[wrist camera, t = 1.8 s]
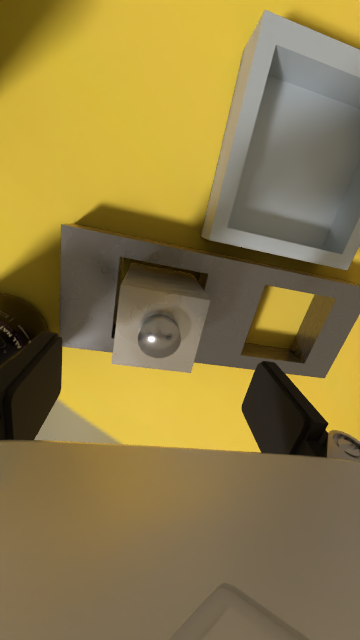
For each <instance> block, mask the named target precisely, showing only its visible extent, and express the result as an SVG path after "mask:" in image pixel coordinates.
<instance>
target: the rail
mask: <svg viewBox="0 0 360 640" xmlns="http://www.w3.org/2000/svg"><path fill="white" fill-rule="evenodd" d="M123 258H129V259H135V260H140V261H145V262H150V263H155V264H161V265H166V266H171V267H176V268H181V269H186V270H192V271H197V272H201V274H200V278H199V282H198V283H199V285H200V286H201V287H202V289H203V290H204V292H205V293H206V295H207V296H208V298H209V299H210V304H209V308H208V312H207V315H206V319H205V323H204V326H203V330H202V334H201V337H200V341H199V345H198V348H197V352H196V356H195V359H194V362H195V363H203V364H211V365H219V366H228V367H236V368H244V369H252V370H256V367H257V365H258V364H259V363H261V362H262V361H269V362H275V363H276V364H277V365H278V366H279V368H280V369H281V370H282V371H283V372H284V373H286V374H294V375H302V376H310V377H319V378H325V377H326V375H327V373H328V371H329V369H330V367H331V366H332V364H333V362H334V360H335V358H336V356H337V355H338V353H339V351H340V349H341V347H342V345H343V344H344V342H345V340H346V338H347V336H348V334H349V333H350V331H351V329H352V327H353V325H354V323H355V322H356V320H357V318H358V316H359V314H360V285H359V284H355V283H352V282H349V281H344V280H340V279H335V278H330V277H325V276H321V275H316V274H311V273H306V272H302V271H297V270H292V269H287V268H283V267H278V266H273V265H268V264H264V263H259V262H254V261H249V260H245V259H240V258H235V257H230V256H226V255H221V254H216V253H211V252H207V251H202V250H197V249H192V248H188V247H183V246H178V245H173V244H169V243H164V242H159V241H154V240H150V239H145V238H140V237H135V236H131V235H126V234H121V233H116V232H112V231H107V230H102V229H97V228H93V227H88V226H83V225H78V224H61V287H60V337H62V346H63V347H71V348H79V349H87V350H96V351H104V352H112V353H113V347H114V339H115V330H116V319H117V311H118V302H119V293H120V284H121V275H122V266H123ZM265 285H269V286H274V287H280V288H285V289H290V290H295V291H300V292H306V293H311V294H315V295H314V297H313V300H312V302H311V304H310V306H309V309H308V311H307V313H306V315H305V318H304V320H303V322H302V324H301V326H300V329H299V331H298V333H297V335H296V338H295V340H294V342H293V344H292V346H291V349H290V350H289V349H282V348H275V347H268V346H261V345H254V344H247V343H245V341H246V338H247V335H248V332H249V329H250V327H251V324H252V321H253V318H254V315H255V313H256V310H257V307H258V304H259V301H260V299H261V296H262V293H263V290H264V287H265Z"/></svg>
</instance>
